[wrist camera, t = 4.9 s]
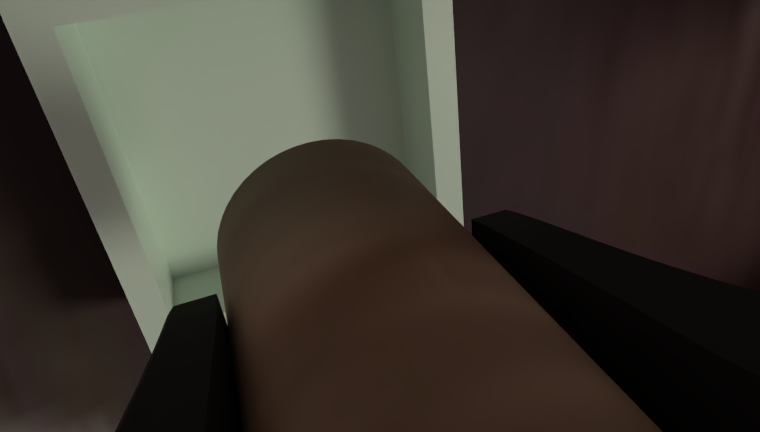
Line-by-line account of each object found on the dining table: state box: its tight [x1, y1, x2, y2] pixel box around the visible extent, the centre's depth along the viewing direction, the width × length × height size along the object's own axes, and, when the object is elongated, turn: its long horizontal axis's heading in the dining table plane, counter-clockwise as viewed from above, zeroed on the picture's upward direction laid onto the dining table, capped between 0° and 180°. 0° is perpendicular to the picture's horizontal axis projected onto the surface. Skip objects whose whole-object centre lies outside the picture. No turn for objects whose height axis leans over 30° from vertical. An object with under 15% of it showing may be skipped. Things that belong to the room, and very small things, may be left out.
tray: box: [0, 0, 464, 353], centre depth 15 cm, size 10×10×3 cm
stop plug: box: [217, 139, 662, 432], centre depth 7 cm, size 4×4×7 cm
